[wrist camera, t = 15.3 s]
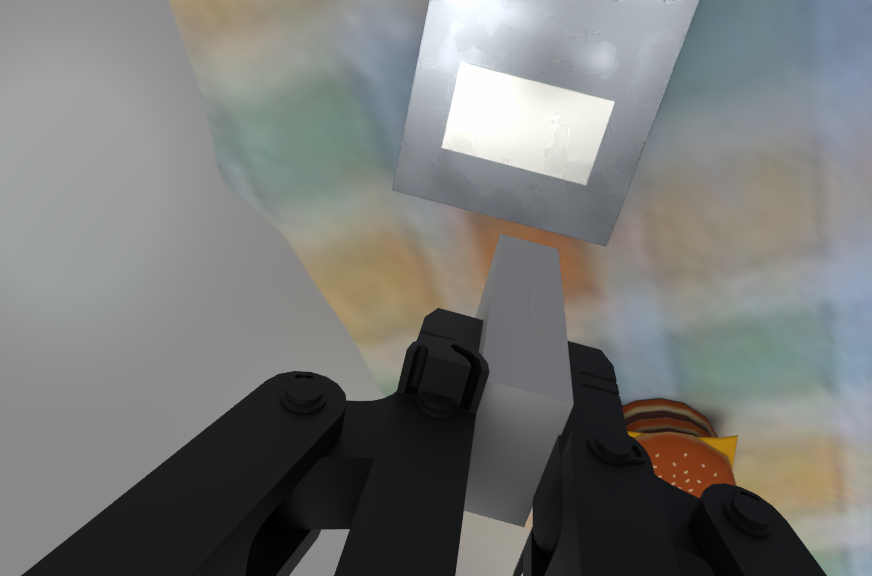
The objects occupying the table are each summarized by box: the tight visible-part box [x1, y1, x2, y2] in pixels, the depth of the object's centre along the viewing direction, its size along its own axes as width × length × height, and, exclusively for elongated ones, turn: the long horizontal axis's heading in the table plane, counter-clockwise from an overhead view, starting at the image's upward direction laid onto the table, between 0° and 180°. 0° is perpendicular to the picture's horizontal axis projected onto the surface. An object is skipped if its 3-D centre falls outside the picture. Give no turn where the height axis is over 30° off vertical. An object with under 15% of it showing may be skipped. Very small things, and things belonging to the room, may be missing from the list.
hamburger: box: [622, 399, 738, 498], centre depth 44 cm, size 9×10×7 cm
